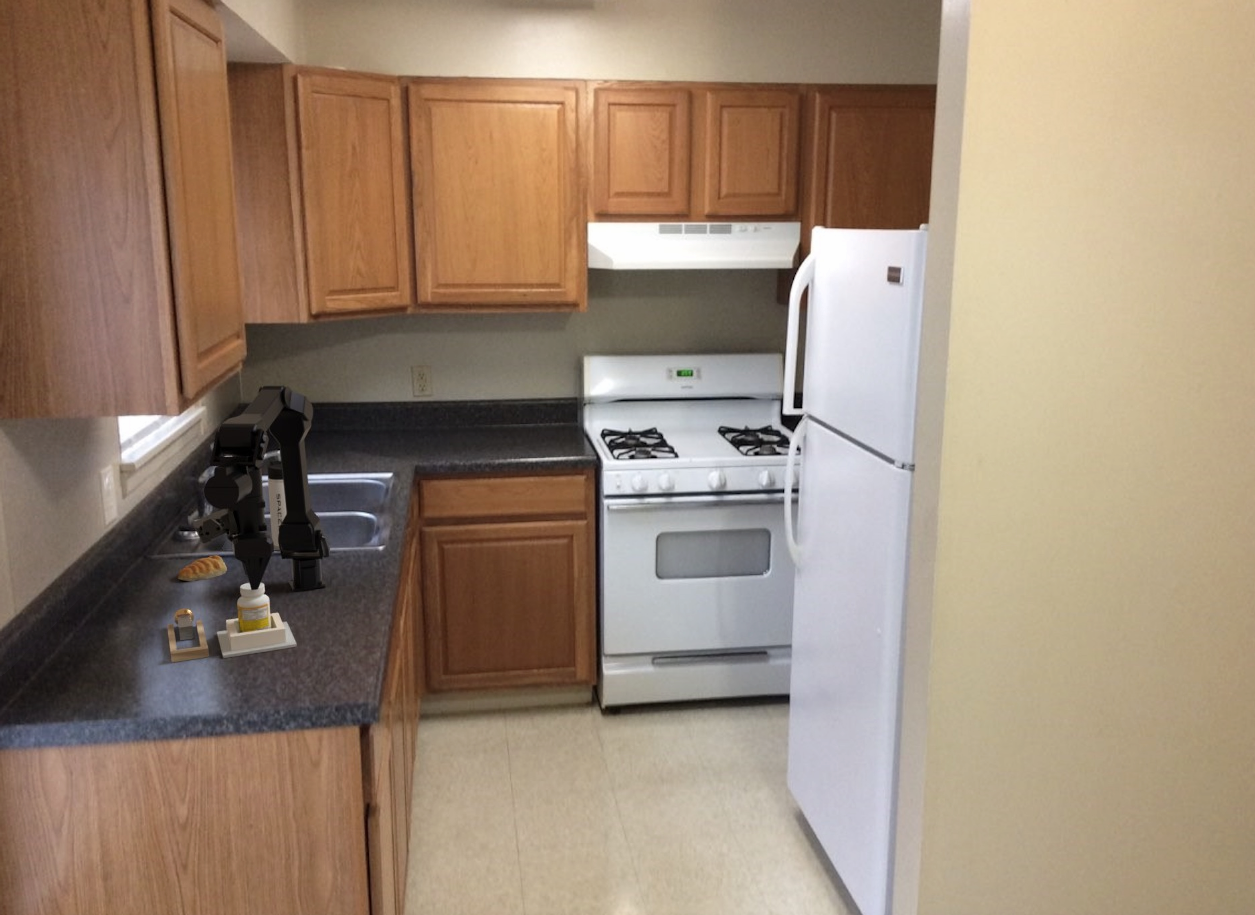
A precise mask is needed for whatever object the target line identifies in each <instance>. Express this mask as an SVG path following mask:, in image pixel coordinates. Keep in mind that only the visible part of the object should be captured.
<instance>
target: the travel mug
mask: <svg viewBox="0 0 1255 915" xmlns="http://www.w3.org/2000/svg"><path fill="white" fill-rule="evenodd" d="M266 466H267V480H268V481H267V485H268V499H269V500H268V501H269V512H270V513H269V514H270V516H269V517H270V529H271V538H272V540H273V542H274V551H277V550H280V548H279V544H278V535H279V527H280V525H281V523H282V521H283V520H284V518H285V516H286V503H285V493H284V483H283V474H282V464H281V460H279V459H276V460H270V461H269V463H267V465H266Z"/></svg>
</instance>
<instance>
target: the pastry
mask: <svg viewBox="0 0 1255 915" xmlns="http://www.w3.org/2000/svg"><path fill="white" fill-rule="evenodd" d="M227 571H228V569H227V566H226V563H225V561H224V560H223V558H222V557H221V556H219V555H217V554H215V555H209V556H208V557H202V558H199V559H195V560H194V561H193V562H191V563H190V564H188V565H186V566H184V567H183V568H182V569H180V570H179V571H178V577H177V579H178V580H181V581H186V582H195V581H201V580H208V579H211V578H215V577H219V576H222V575H224V574H226V572H227Z"/></svg>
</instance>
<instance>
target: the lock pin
mask: <svg viewBox="0 0 1255 915" xmlns="http://www.w3.org/2000/svg"><path fill="white" fill-rule="evenodd" d="M173 618H174V623H175V624H176V625H177V628H178V634H179V640H180V641H185V640H186V641H187V640H193V639H194V637H195V636H194V627H193V626H194V625H193V621H194V613H193V612H192V610H190V609H189V608H180V609H178V610H176V612H175V613H174V616H173Z"/></svg>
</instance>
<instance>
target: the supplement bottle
mask: <svg viewBox="0 0 1255 915" xmlns="http://www.w3.org/2000/svg"><path fill="white" fill-rule="evenodd" d="M265 589H266V588H265V583H263V582H261V583H260V586H259V588H258V589H257V590H251V587H250V583H249V582H246V583H244V584H241V585H240V586H239V591H240V592H239V593H240V595H241V596H240V597H239V598H238V599H237V601H236V602H237V603H236V604H237V607H236V608H237V618H238V621H239V633H244V632H251V631H257V630H264V629H271V617H270V614H271V607H270V606H271V603H270V597H269V596H268V595H267V594H265V592H266V590H265Z"/></svg>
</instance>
